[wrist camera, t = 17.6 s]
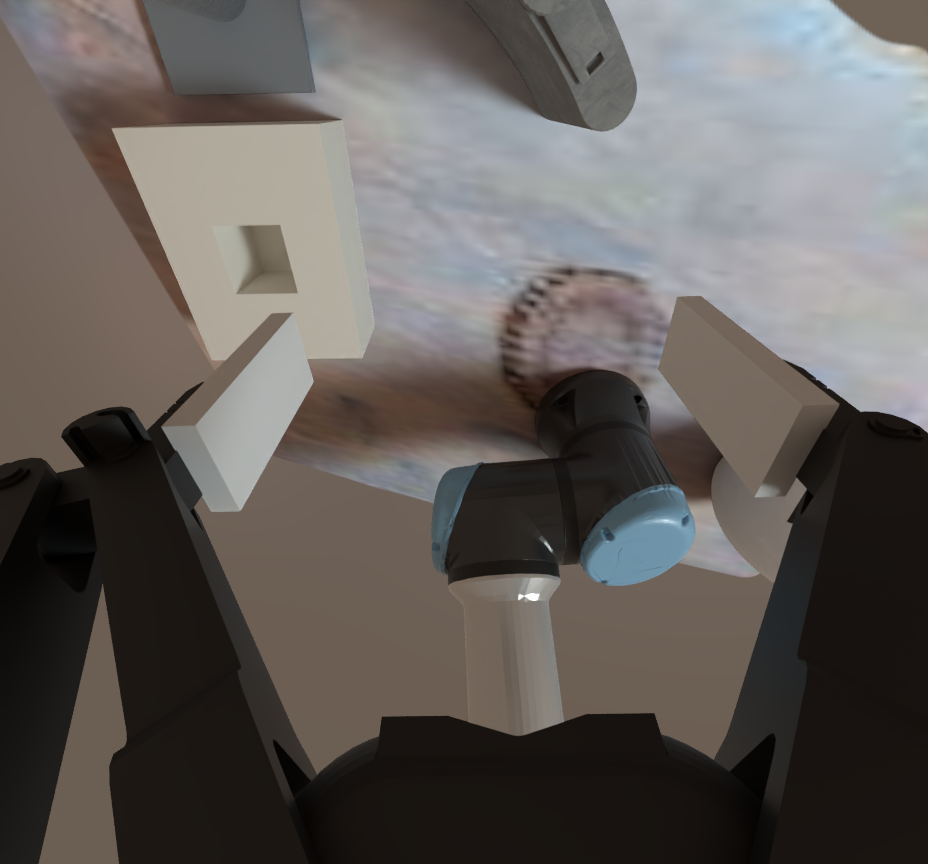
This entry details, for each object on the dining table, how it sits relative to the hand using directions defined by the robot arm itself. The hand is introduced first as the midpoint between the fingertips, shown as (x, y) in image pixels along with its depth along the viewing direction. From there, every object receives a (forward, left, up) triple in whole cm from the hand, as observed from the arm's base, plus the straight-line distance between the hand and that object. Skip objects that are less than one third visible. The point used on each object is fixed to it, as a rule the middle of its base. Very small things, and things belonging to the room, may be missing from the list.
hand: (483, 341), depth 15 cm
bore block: (-4, +20, -34) cm, 40 cm away
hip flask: (+12, -3, -34) cm, 36 cm away
